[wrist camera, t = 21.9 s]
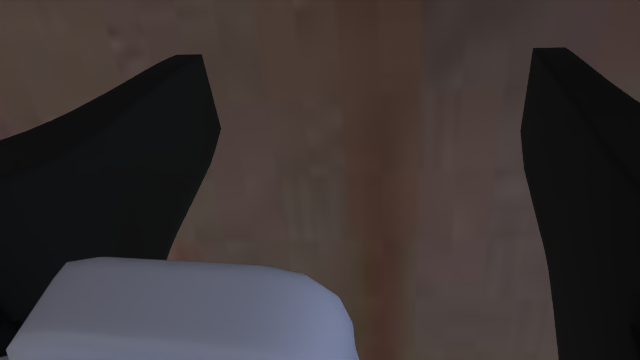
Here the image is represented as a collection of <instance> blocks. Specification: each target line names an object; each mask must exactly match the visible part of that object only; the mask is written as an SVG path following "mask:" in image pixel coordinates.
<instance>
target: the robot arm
mask: <svg viewBox="0 0 640 360" xmlns="http://www.w3.org/2000/svg"><path fill="white" fill-rule="evenodd" d="M220 130H221V127H220V123H219V119H218V115H217V111H216V108H215V104H214V100H213V96H212V92H211V88H210V85H209V81H208V77H207V73H206V69H205V65H204V62H203V58H202V54H199V55H175V56H173V57H170V58H168V59H166V60H164V61H162V62H160V63H158V64H156V65H154V66H152V67H150V68H149V69H147V70H145V71H143V72H142V73H140V74H138V75H136V76H135V77H133V78H131V79H130V80H128V81H126V82H124V83H123V84H121V85H119V86H117V87H116V88H114V89H112V90H110V91H109V92H107V93H105V94H103V95H101V96H99V97H97V98H96V99H94V100H92V101H90V102H88V103H86V104H84V105H82V106H81V107H79V108H77V109H75V110H73V111H71V112H69V113H67V114H65V115H63V116H60V117H58V118H56V119H54V120H52V121H49V122H47V123H45V124H42V125H40V126H38V127H35V128H33V129H31V130H28V131H25V132H23V133H20V134H17V135H14V136H12V137H9V138H6V139H3V140H0V360H359V358H358V355H357V352H356V349H355V340H354V331H353V323H352V321H351V319H350V317H349V315H348V313H347V311H346V310H345V308H344V306H343V304H342V302H341V300H340V298H339V297H338V296H337V295H335V294H334V293H333V292H331V291H330V290H328V289H326V288H325V287H323V286H322V285H320V284H319V283H317V282H316V281H314V280H313V279H311V278H310V277H308V276H307V275H305V274H301V273H297V272H293V271H288V270H284V269H280V268H275V267H271V266H264V265H246V264H228V263H210V262H192V261H173V260H167V257H168V254H169V251H170V248H171V246H172V244H173V241H174V239H175V237H176V234H177V232H178V230H179V228H180V226H181V224H182V222H183V220H184V218H185V216H186V214H187V212H188V210H189V208H190V206H191V204H192V202H193V199H194V197H195V195H196V193H197V191H198V189H199V187H200V185H201V183H202V181H203V179H204V177H205V175H206V172H207V170H208V168H209V166H210V164H211V161H212V158H213V155H214V152H215V148H216V145H217V141H218V138H219V134H220ZM521 141H522V152H523V162H524V170H525V174H526V178H527V182H528V186H529V190H530V194H531V198H532V202H533V206H534V210H535V214H536V218H537V222H538V226H539V230H540V234H541V238H542V241H543V245H544V249H545V254H546V259H547V264H548V270H549V278H550V285H551V293H552V301H553V309H554V319H555V328H556V337H557V346H558V356H559V360H640V103H639V102H638V101H636V100H635V99H633V98H632V97H630V96H629V95H628V94H626V93H625V92H623V91H622V90H621V89H619V88H618V87H616V86H615V85H614V84H612V83H611V82H610V81H608V80H607V79H606V78H604V77H603V76H602V75H601V74H599V73H598V72H597V71H595V70H594V69H593V68H592V67H590V66H589V65H588V64H587V63H585V62H584V61H583V60H582V59H580V58H579V57H578V56H576V55H575V54H574V53H573V52H571V51H570V50H568V49H567V48H533V53H532V59H531V66H530V73H529V79H528V86H527V92H526V99H525V105H524V112H523V119H522V125H521Z"/></svg>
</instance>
